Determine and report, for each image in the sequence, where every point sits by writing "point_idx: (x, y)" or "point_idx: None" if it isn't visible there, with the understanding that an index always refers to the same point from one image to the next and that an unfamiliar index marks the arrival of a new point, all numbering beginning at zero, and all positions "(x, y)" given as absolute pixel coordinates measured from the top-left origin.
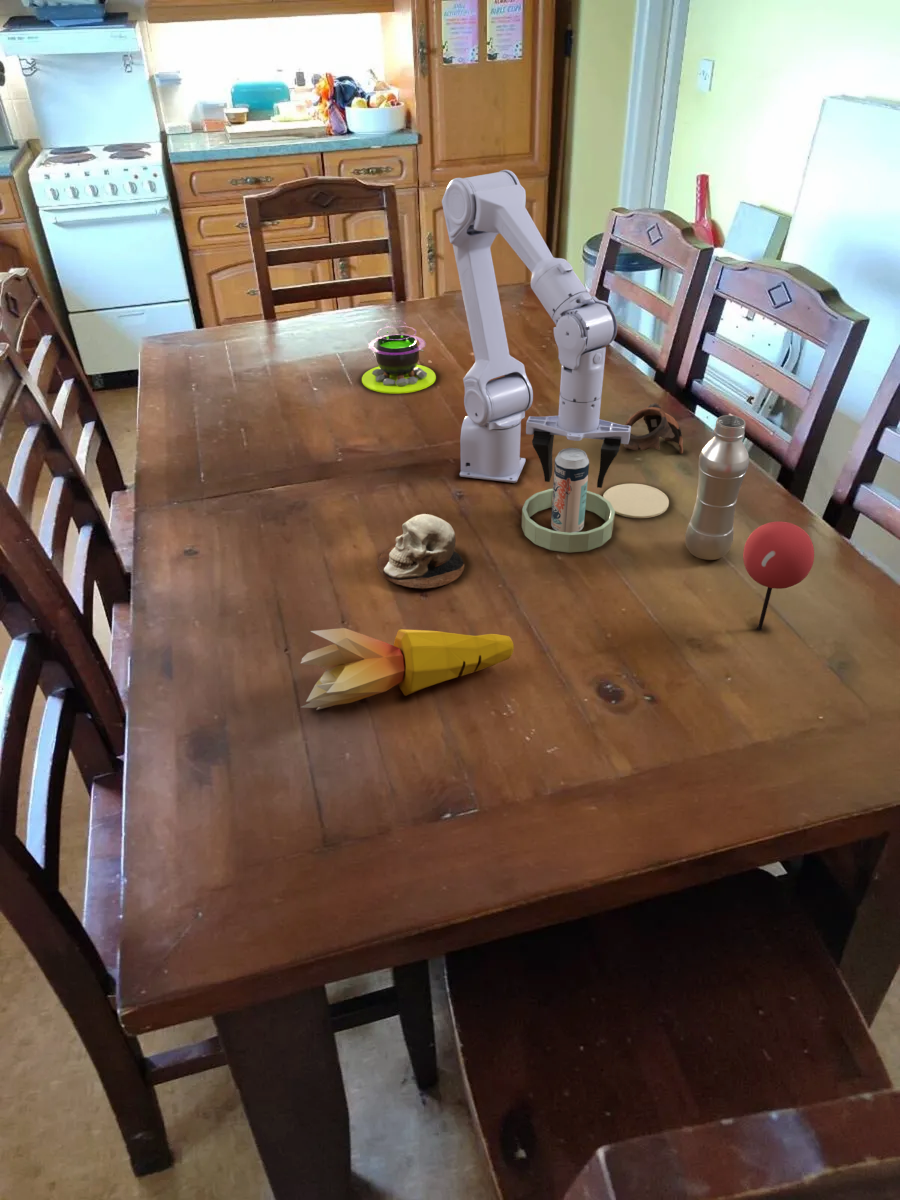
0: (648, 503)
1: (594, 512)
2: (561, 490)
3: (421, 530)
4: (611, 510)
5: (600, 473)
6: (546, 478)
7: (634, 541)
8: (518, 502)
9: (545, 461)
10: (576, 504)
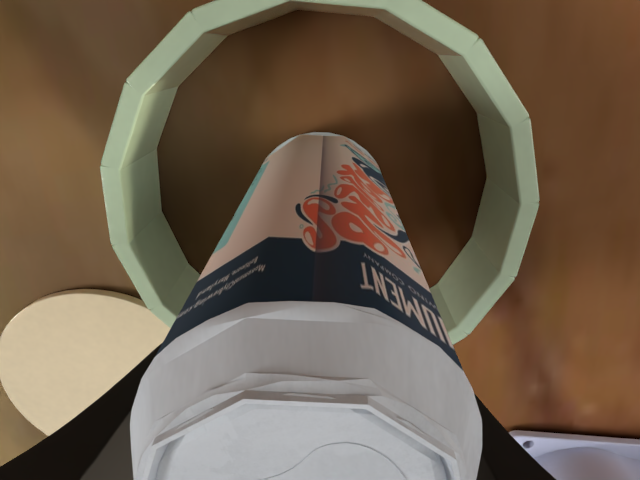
0: (62, 369)
1: None
2: (368, 212)
3: None
4: (126, 247)
5: (127, 400)
6: None
7: (46, 134)
8: (504, 331)
9: (508, 464)
10: (269, 184)
